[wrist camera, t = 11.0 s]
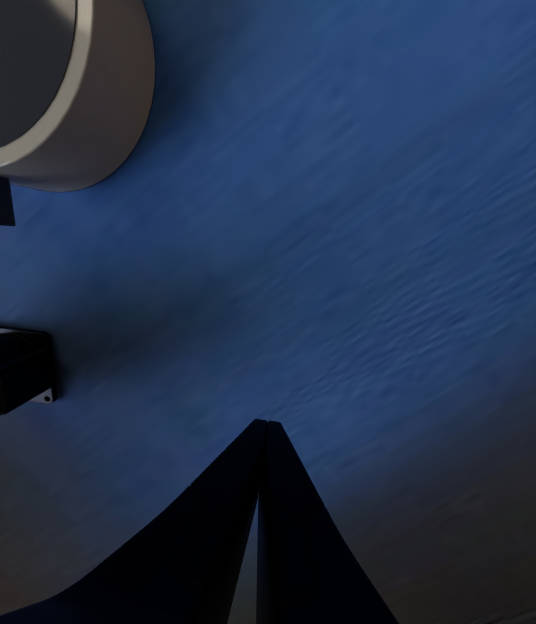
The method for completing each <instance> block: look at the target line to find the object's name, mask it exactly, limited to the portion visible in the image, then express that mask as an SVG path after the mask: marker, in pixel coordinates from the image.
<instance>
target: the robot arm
mask: <svg viewBox="0 0 536 624" xmlns="http://www.w3.org/2000/svg"><path fill="white" fill-rule="evenodd" d="M42 337H43V338H42ZM56 399H57V394H56V385H55V375H54V365H53V355H52V346H51V337H50V335H49V334H48V333H47V332H44V331H36V330H28V329H21V328H13V327H5V326H0V415H2V414H7V413H9V412H10V411H12V410H14V409H15V408H17V407H19V406H21V405H22V404H24V403H26V402H28V401H31V402H37V403H44V404H51V403H53V402H54V401H56ZM259 487H260V488H259ZM258 494H259V498H258ZM257 500H258V542H257V603H256V624H399V623H398V622H397V620H396V619H395V617H394V616H393V614H392V613H391V611H390V610H389V608H388V607H387V605H386V604H385V602H384V601H383V599H382V598H381V596H380V595H379V593H378V592H377V590H376V589H375V587H374V586H373V584H372V583H371V581H370V580H369V578H368V577H367V575H366V574H365V572H364V571H363V569H362V568H361V566H360V565H359V563H358V562H357V560H356V558H355V557H354V555H353V554H352V552H351V551H350V549H349V548H348V546H347V544H346V543H345V541H344V540H343V538H342V536H341V534H340V532H339V531H338V529H337V527H336V525H335V524H334V522H333V520H332V518H331V516H330V514H329V512H328V511H327V509H326V508H325V506H324V503H323V501H322V500H321V498H320V496H319V494H318V492H317V490H316V488H315V486H314V484H313V483H312V481H311V479H310V477H309V475H308V473H307V471H306V469H305V468H304V466H303V464H302V462H301V460H300V458H299V456H298V454H297V452H296V451H295V449H294V447H293V445H292V443H291V441H290V439H289V437H288V436H287V434H286V432H285V430H284V428H283V426H282V424H281V423H280V422H275V421H268V423H267V421H266V420H261V419H254V420H253V421H252V422H251V423H250V424H249V425H248V427H247V428H246V429H245V430H244V431H243V432H242V433H241V434H240V435H239V436H238V437H237V438H236V439H235V440H234V441H233V442H232V443H231V444H230V445H229V446H228V447H227V448H226V449H225V450H224V451H223V452H222V453H221V454H220V455H219V456H218V457H217V458H216V459H215V460H214V461H213V462H212V463H211V464H210V465H209V466H208V467H207V468H206V469H205V470H204V471H203V472H202V473H201V474H200V475H199V476H198V477H197V478H196V479H195V480H194V481H193V482H192V483H191V486H188V487H187V488H186V489H185V490H184V491H183V492H182V493H181V494H180V495H179V496H178V497H177V498H176V499H175V500H174V501H173V502H172V503H171V504H170V505H169V506H168V507H167V508H166V509H165V510H164V511H163V512H161V513H160V514H159V515H158V516H157V517H156V518H155V519H153V520H152V521H151V522H150V523H149V524H148V525H146V526H145V527H144V528H143V529H142V530H140V531H139V532H138V533H137V534H136V535H134V536H133V537H132V538H131V539H130V540H128V541H127V542H126V543H125V544H124V545H122V546H121V547H120V548H119V549H117V550H116V551H115V552H114V553H113V554H111V555H110V556H109V557H108V558H107V559H105V560H104V561H103V562H102V563H100V564H99V565H98V566H97V567H96V568H94V569H93V570H92V571H91V572H89V573H88V574H87V575H86V576H84V577H83V578H82V579H80V580H79V581H78V582H76V583H75V584H73V585H72V586H70V587H69V588H67V589H65V590H64V591H62V592H60V593H59V594H57V595H55V596H53V597H51V598H49V599H46V600H44V601H41V602H38V603H35V604H32V605H30V606H27V607H24V608H21V609H18V610H15V611H12V612H9V613H7V614H4V615H1V616H0V624H227V622H228V618H229V614H230V610H231V606H232V601H233V597H234V593H235V589H236V585H237V581H238V577H239V573H240V569H241V565H242V561H243V557H244V553H245V549H246V545H247V541H248V537H249V533H250V529H251V525H252V521H253V517H254V513H255V509H256V504H257Z"/></svg>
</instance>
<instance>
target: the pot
mask: <svg viewBox="0 0 536 624" xmlns="http://www.w3.org/2000/svg"><path fill="white" fill-rule="evenodd" d="M154 84H155V57H154V45H153V39H152V34H151V28H150V23H149V20H148V16H147V13H146V9H145V6H144V3H143V1H142V0H0V225H5V226H15V217H14V210H13V203H12V196H11V189H10V184H12V185H17V186H21V187H25V188H30V189H34V190H39V191H46V192H69V191H75V190H80V189H83V188H86V187H89V186H92V185H93V184H95V183H97V182H99V181H101V180H103V179H105V178H106V177H107V176H109V175H110V174H111V173H113V172H114V171H115V170H116V169H117V168H118V167H119V166H120V165H121V164H122V163H123V162H124V161H125V160H126V159H127V157H128V156H129V155H130V153H131V152H132V151H133V149H134V147H135V146H136V144H137V142H138V140H139V138H140V137H141V135H142V132H143V130H144V127H145V125H146V122H147V119H148V116H149V112H150V108H151V104H152V98H153V92H154Z"/></svg>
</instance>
